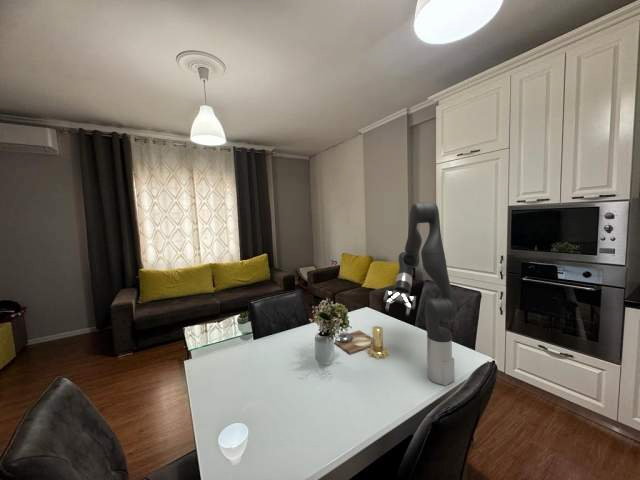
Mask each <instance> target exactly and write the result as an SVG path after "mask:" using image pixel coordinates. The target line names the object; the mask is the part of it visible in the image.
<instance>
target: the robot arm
mask: <svg viewBox="0 0 640 480" xmlns="http://www.w3.org/2000/svg"><path fill="white" fill-rule="evenodd" d="M408 219H409V220H408V234H407V239H406V242H405V246H404V251H402V252H400V253H399V255H398V265H399V266H398V268H399V269H398V273H397V277H396V279H395V283H394V287H393V290H392V291H391V290H390V291H389V289H386V290H385V293H384V296H383V303H385V311H386V312H389V309H390V305H391V304H393V303H394V302H396V303H400V304H403V305H405V307H406V311H405V317H408V316H410V313H411V310H415V309H416V302H417V301H416V299H417V296H416V295H413V296H411V295H410V293H411V289H412V285H413V283H412V282H413V275H414V269H413V268H416V267H418V266H419V264H420V256H421V262H422V268H423V270H424V271H425V273H426V274H427V275H428V276H429V277H430V279H431V280H432V281H433V282H434V284H435V285H436V286H437V289H438V291H439V296H440V297H439V298H437V297H436V298H428V299H427V300H426V301H425V305H424V315H425V328H426V360H427V362H426V364H427V366H426V370H427V375H426V376H427V378H428V379H429V381H432V382H433V383H435V384H438V385H442V386H445V387H446V386H447V385H449V384H452V383H453V382H455V358H454V357H453V334H452V332H451V330H449V329H448V328H446V327H443V326H441V325H440V323H444V322H445V323H446V322H454V321H456V319H457V317H458V316H457V315H458V313H457V306H456V305H457V304H456V301H455V298H454V293H453V291H452V286H451V283H450V279H449V278H450V277H449V273H448V267H447V260H446V253H445V249H444V244H443V239H442V232H441V222H440V220H441V219H440V211H439V207H438V204H437V203H436V202H434V201H424V202H423V201H421V202H414V203H413V204H412V205H411V207H410V212H409V217H408ZM427 223H428V226H429V230H428V234H427V235H428V236H427V238H426V240H425V242H424V244H423V246H422V243H423V239H422V236H421V234H420V232H419V230H418V224H427ZM421 246H422V249H421ZM420 251H421V252H420ZM389 296H391V297H390V298H388V297H389ZM409 300H410V301H411V302H412V304H411V303H410V302H409Z"/></svg>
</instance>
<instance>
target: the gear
mask: <svg viewBox="0 0 640 480" xmlns="http://www.w3.org/2000/svg"><path fill="white" fill-rule="evenodd" d="M339 333H340V337H341V339H340V341H338V342H339V343H340V344H341V343H350V341H351V340H353V336H352V335H350V334H349V332H345V331H343V332H339Z"/></svg>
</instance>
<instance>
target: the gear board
mask: <svg viewBox="0 0 640 480" xmlns="http://www.w3.org/2000/svg"><path fill="white" fill-rule="evenodd" d="M348 334H350V335H352V336H353V340H351V341H350V343H341V344H340V343H339V342H338V341H335V344H334V345H336V346H337V347H338V348H340V349H342V351H344V352H345V353H346V354H347V355H349V356H350V355H354V354H356V353H359V352H361V351H365V350H368V349H371V346H373V336H370V335H368V334H367V333H365V332H363V331H361V330H360V329H359V330H356V331H352V332H348Z"/></svg>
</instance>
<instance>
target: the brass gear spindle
mask: <svg viewBox="0 0 640 480" xmlns="http://www.w3.org/2000/svg"><path fill="white" fill-rule="evenodd" d="M371 329H372V334H371V335H372V338H373V346H371V348H368V349H367V354H368V355H369V357H370V358H375V359H376V360H380V359H383V360H385V359H386V358H387V356H389V350H388V349H387V347H385V346H384V328H383V327H381V326H379V325H378V326H377V325H375V326H373V327H372V328H371Z"/></svg>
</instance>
